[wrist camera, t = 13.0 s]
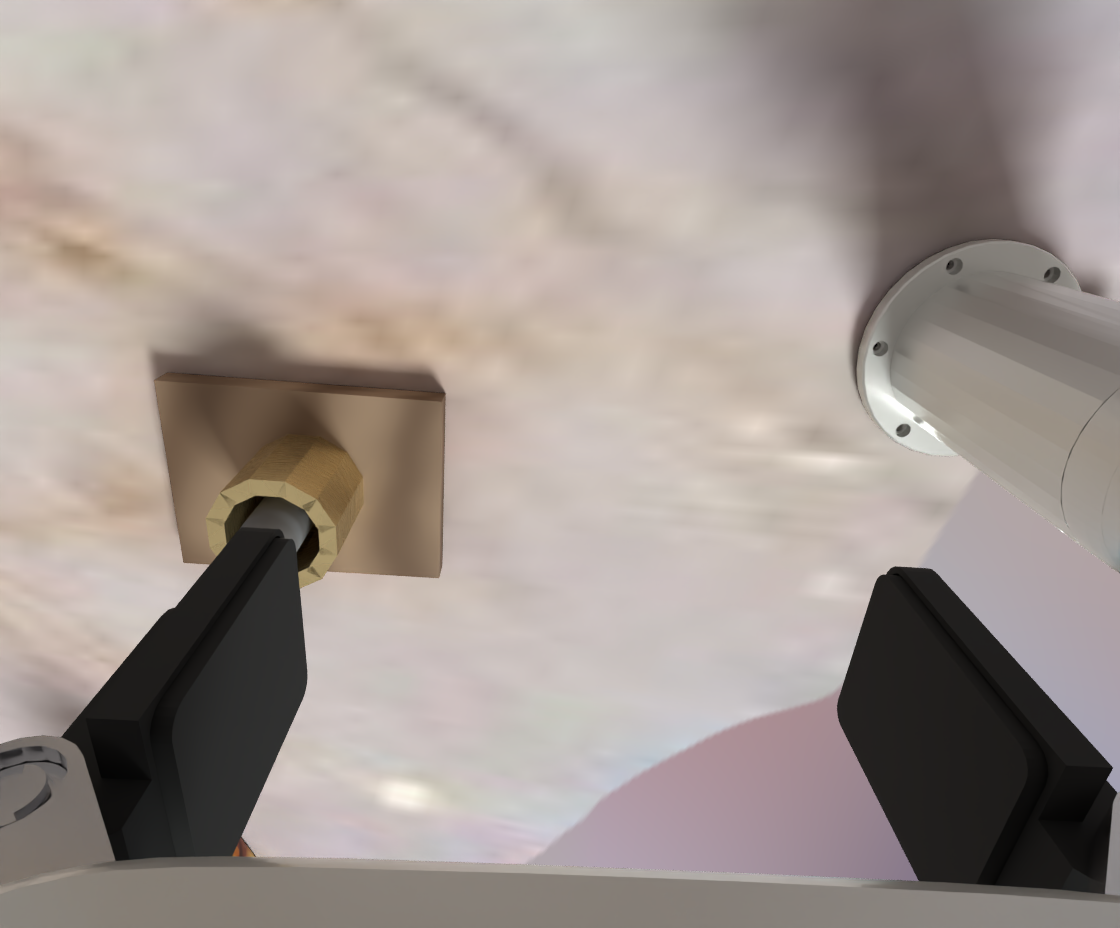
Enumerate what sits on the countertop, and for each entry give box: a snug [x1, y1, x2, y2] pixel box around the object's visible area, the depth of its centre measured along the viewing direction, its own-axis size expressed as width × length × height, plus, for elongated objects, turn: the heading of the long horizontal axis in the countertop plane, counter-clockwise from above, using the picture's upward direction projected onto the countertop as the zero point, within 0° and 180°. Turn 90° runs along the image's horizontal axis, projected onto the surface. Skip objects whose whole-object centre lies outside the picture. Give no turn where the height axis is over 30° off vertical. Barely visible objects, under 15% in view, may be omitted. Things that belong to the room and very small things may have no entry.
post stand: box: [154, 373, 446, 578], centre depth 39 cm, size 16×12×8 cm
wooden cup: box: [205, 434, 364, 588], centre depth 39 cm, size 7×7×6 cm
